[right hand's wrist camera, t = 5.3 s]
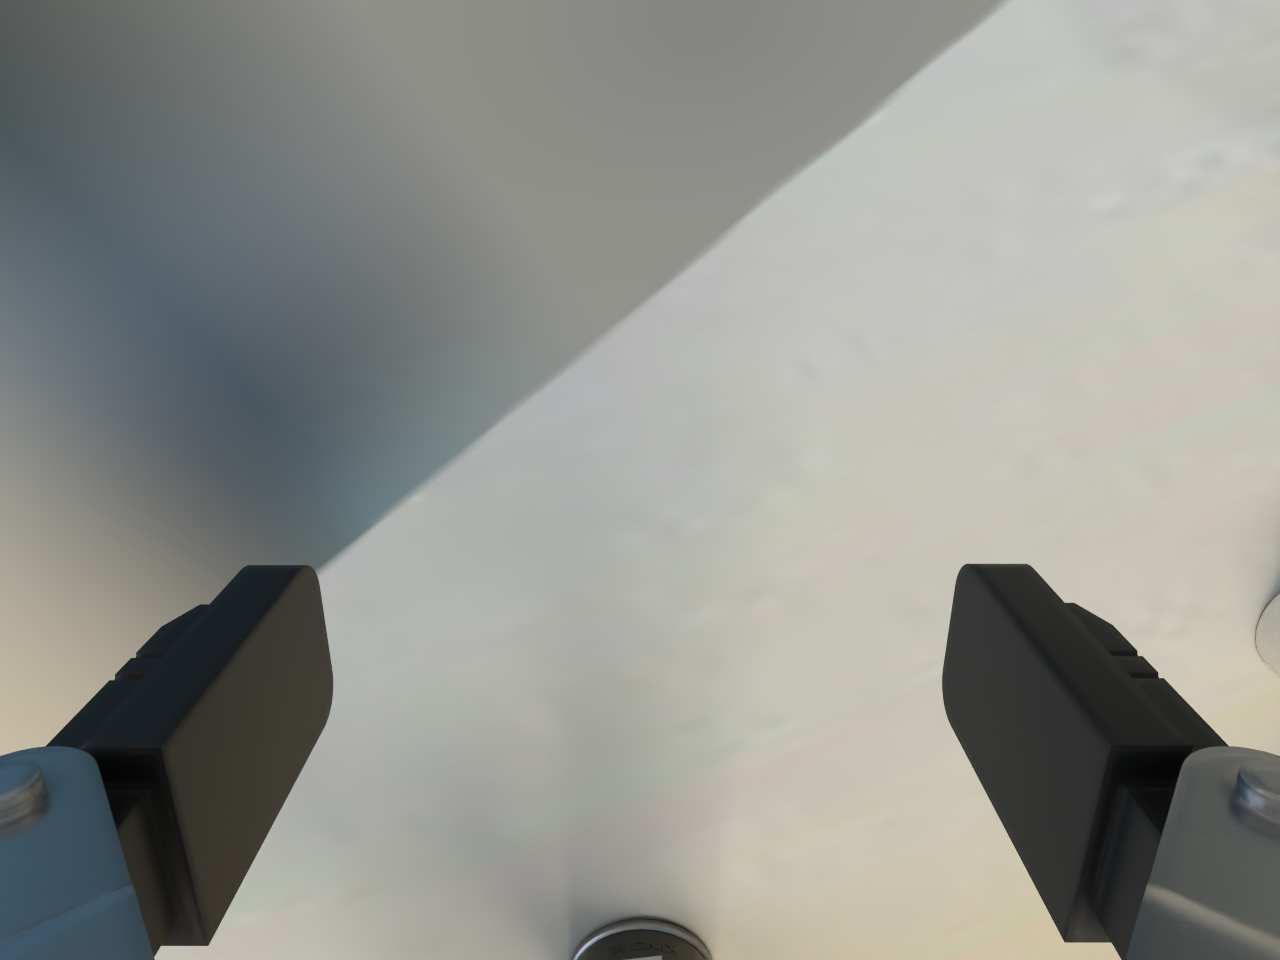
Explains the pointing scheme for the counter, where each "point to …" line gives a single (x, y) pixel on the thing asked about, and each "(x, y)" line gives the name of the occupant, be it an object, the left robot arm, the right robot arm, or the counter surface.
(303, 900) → the counter surface
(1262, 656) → the bottle
